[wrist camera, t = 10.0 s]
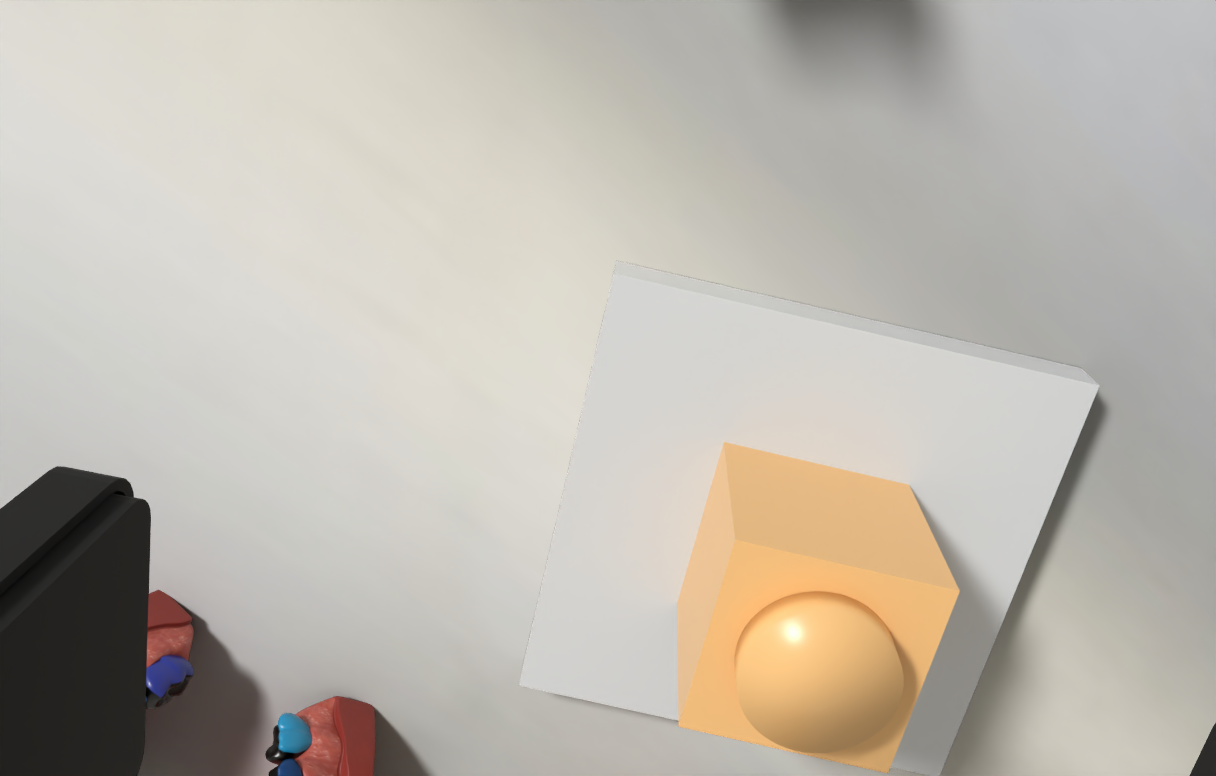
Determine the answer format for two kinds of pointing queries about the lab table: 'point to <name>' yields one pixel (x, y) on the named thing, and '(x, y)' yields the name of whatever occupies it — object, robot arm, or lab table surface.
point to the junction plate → (798, 428)
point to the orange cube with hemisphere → (809, 609)
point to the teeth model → (303, 743)
